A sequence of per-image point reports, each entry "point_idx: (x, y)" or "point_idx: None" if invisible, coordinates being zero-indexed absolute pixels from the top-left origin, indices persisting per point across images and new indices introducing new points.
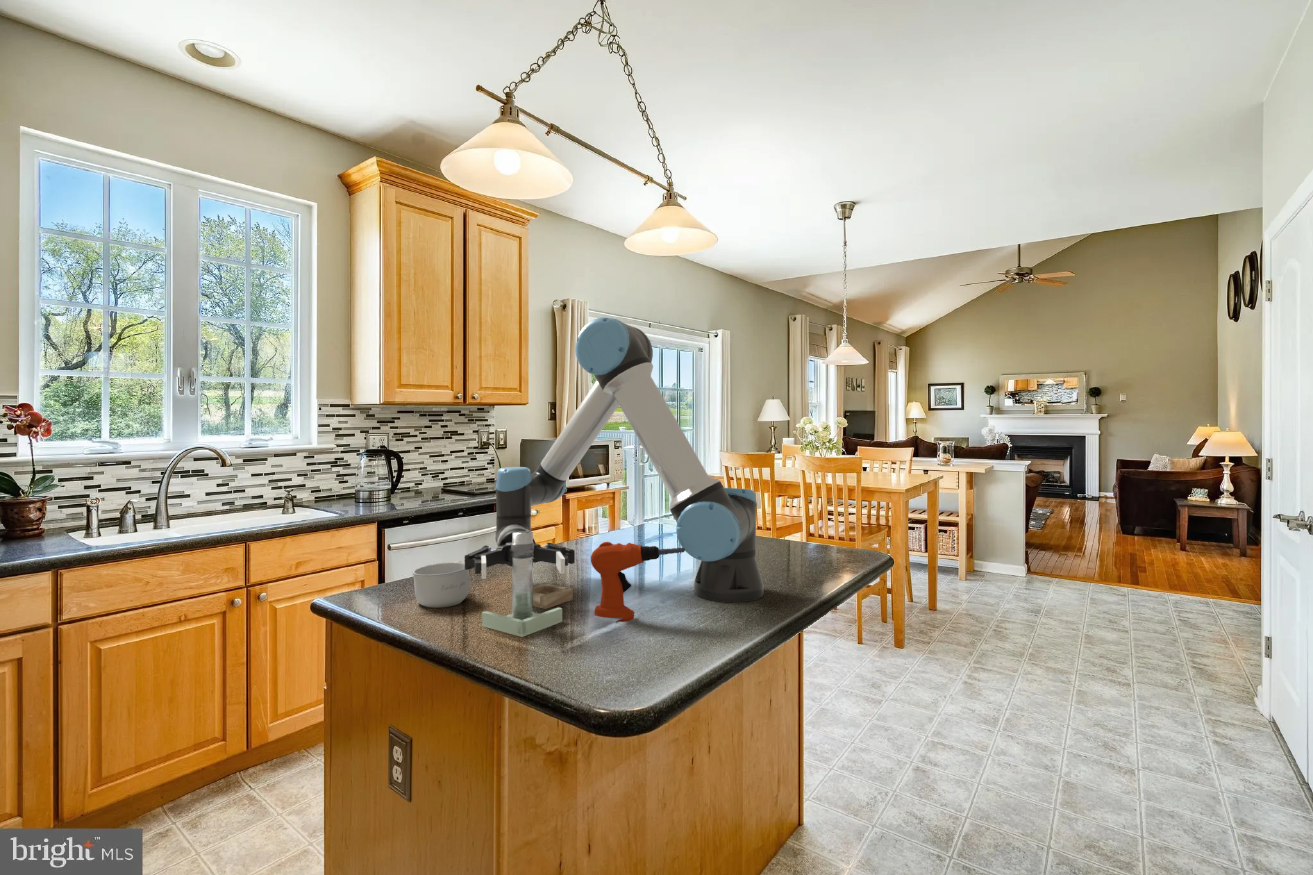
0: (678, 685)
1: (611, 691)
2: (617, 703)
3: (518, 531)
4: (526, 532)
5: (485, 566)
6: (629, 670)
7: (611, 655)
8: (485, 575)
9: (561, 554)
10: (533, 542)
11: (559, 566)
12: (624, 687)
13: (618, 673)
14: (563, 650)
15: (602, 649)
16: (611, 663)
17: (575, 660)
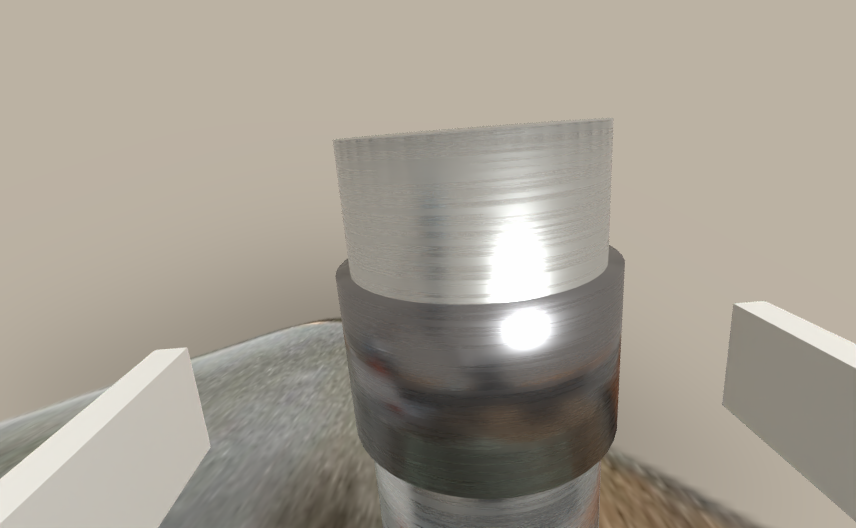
0: (219, 353)
1: (326, 347)
2: (333, 330)
3: (549, 125)
4: (418, 133)
5: (736, 326)
6: (254, 391)
7: (239, 448)
8: (728, 383)
9: (29, 460)
10: (348, 261)
11: (167, 458)
12: (300, 353)
13: (281, 384)
14: (347, 491)
15: (235, 483)
16: (267, 416)
17: (338, 435)
